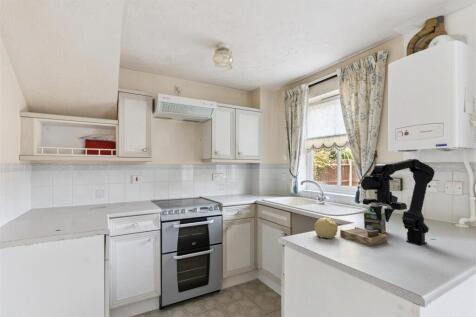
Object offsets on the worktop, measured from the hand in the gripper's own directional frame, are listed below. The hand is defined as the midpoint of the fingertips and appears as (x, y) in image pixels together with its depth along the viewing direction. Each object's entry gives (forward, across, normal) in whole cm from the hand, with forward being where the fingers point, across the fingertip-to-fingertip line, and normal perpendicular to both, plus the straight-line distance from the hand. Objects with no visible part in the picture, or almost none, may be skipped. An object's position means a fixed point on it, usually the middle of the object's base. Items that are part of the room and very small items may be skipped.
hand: (383, 221), depth 116 cm
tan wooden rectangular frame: (+12, +12, 0) cm, 17 cm away
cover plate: (+10, +12, 0) cm, 15 cm away
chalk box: (+12, +18, -19) cm, 29 cm away
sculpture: (+12, +24, +14) cm, 30 cm away
